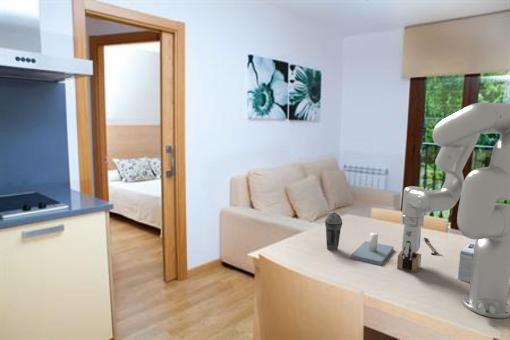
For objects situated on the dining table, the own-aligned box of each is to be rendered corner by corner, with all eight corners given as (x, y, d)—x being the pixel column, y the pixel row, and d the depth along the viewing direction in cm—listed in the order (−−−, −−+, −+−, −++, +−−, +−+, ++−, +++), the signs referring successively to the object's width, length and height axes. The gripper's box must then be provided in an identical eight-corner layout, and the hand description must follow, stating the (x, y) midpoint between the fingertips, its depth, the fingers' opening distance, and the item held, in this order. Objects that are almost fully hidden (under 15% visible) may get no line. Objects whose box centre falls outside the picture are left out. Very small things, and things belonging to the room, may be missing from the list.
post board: (381, 265, 138) (382, 243, 136) (350, 258, 144) (351, 237, 143) (393, 250, 154) (394, 230, 153) (365, 244, 161) (366, 225, 160)
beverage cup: (321, 249, 153) (323, 203, 150) (326, 244, 159) (328, 200, 157) (338, 253, 150) (340, 205, 147) (342, 247, 156) (345, 202, 153)
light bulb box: (462, 270, 135) (465, 242, 133) (484, 275, 131) (487, 246, 129) (457, 279, 127) (460, 249, 125) (479, 285, 122) (482, 254, 121)
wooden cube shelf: (417, 273, 131) (418, 259, 131) (396, 268, 135) (397, 255, 134) (420, 266, 137) (421, 254, 136) (400, 262, 141) (401, 250, 140)
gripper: (419, 227, 124) (415, 276, 127) (427, 216, 139) (423, 260, 141) (396, 223, 128) (393, 271, 131) (406, 213, 143) (403, 256, 145)
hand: (408, 265), depth 136 cm, fingers closed on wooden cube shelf, 7 cm apart
